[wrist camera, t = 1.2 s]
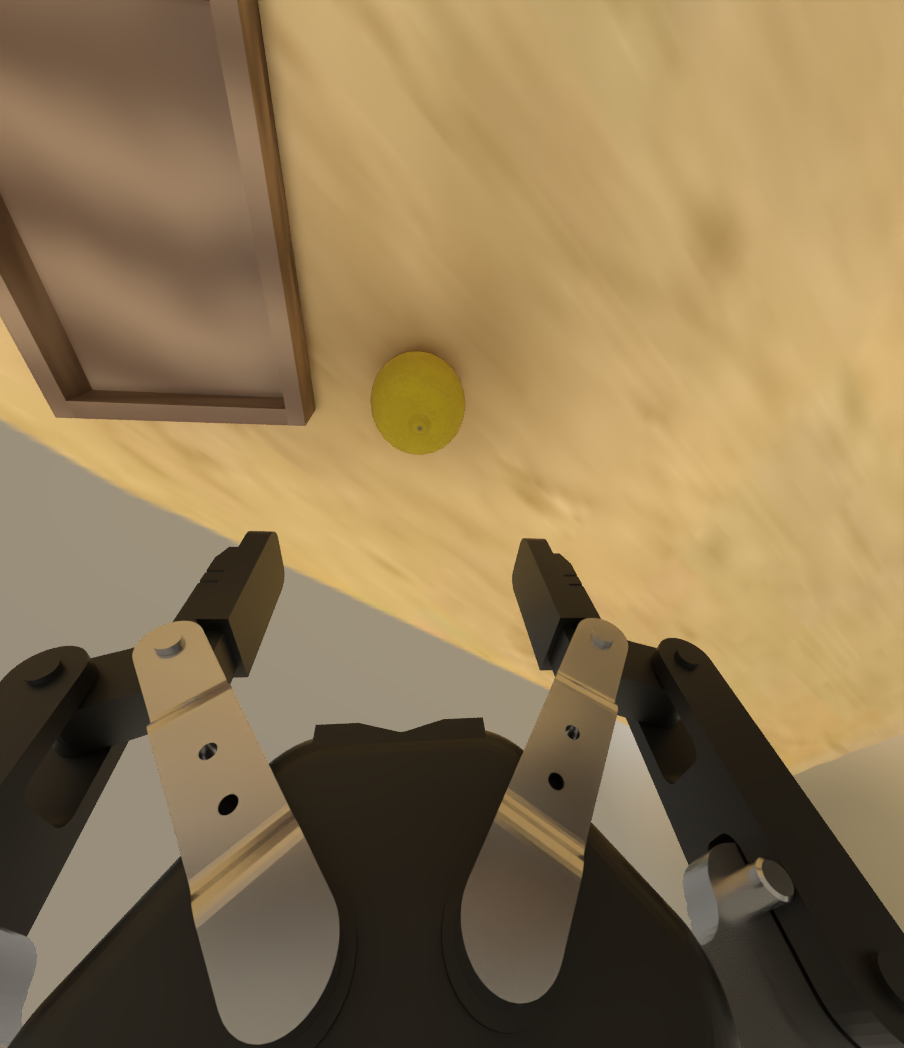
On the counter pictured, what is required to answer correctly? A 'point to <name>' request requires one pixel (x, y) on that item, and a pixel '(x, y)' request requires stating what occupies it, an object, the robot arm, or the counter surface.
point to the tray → (147, 213)
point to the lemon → (417, 402)
